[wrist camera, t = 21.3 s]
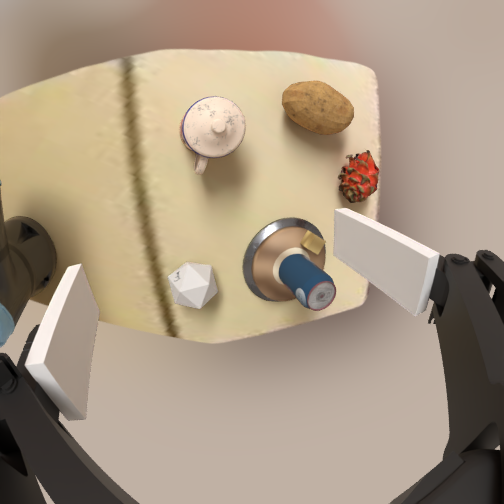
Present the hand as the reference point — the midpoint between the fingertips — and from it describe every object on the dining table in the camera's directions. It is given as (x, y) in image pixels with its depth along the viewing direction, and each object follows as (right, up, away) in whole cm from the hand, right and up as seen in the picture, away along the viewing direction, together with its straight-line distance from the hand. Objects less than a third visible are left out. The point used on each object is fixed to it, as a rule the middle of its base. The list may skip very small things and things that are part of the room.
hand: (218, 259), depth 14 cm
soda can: (+9, -3, +44) cm, 45 cm away
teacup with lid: (-7, +20, +31) cm, 38 cm away
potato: (+12, +28, +35) cm, 46 cm away
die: (-10, -4, +41) cm, 42 cm away
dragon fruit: (+22, +17, +44) cm, 52 cm away
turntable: (+9, -2, +46) cm, 47 cm away
